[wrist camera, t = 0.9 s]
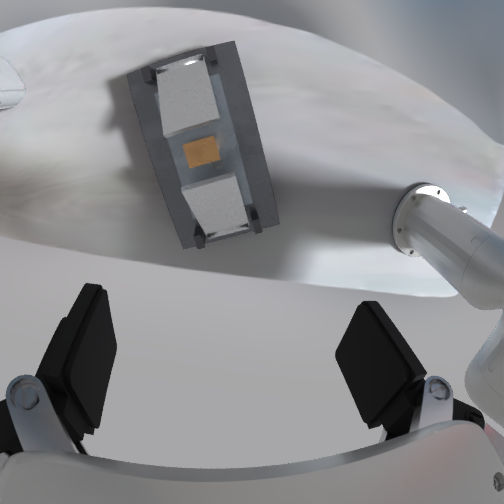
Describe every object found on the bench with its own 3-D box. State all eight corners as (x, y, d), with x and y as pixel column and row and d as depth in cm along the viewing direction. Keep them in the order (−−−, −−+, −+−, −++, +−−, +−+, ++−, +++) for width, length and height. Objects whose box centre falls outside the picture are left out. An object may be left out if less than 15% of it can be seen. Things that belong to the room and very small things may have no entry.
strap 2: (248, 221, 32) (250, 230, 32) (207, 232, 33) (208, 241, 32) (233, 169, 24) (236, 178, 24) (180, 184, 24) (181, 194, 24)
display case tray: (233, 48, 26) (236, 29, 19) (274, 212, 37) (286, 238, 29) (137, 78, 26) (112, 70, 19) (187, 235, 37) (179, 266, 30)
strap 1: (158, 73, 23) (155, 66, 22) (204, 58, 23) (202, 51, 22) (166, 139, 22) (162, 133, 21) (221, 123, 22) (219, 115, 21)
